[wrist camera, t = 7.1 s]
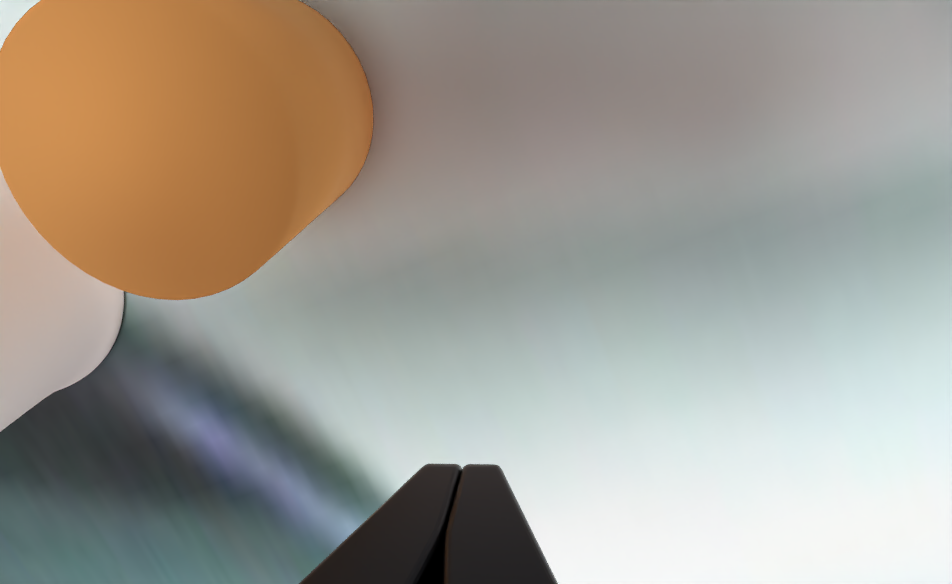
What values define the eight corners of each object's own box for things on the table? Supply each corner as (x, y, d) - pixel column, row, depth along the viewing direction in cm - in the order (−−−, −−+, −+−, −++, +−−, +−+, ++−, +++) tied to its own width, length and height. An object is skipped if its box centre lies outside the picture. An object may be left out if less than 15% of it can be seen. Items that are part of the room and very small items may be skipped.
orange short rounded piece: (359, -19, 17) (269, -33, 12) (384, 216, 19) (319, 297, 14) (132, -4, 18) (-56, -11, 12) (181, 221, 20) (41, 302, 14)
